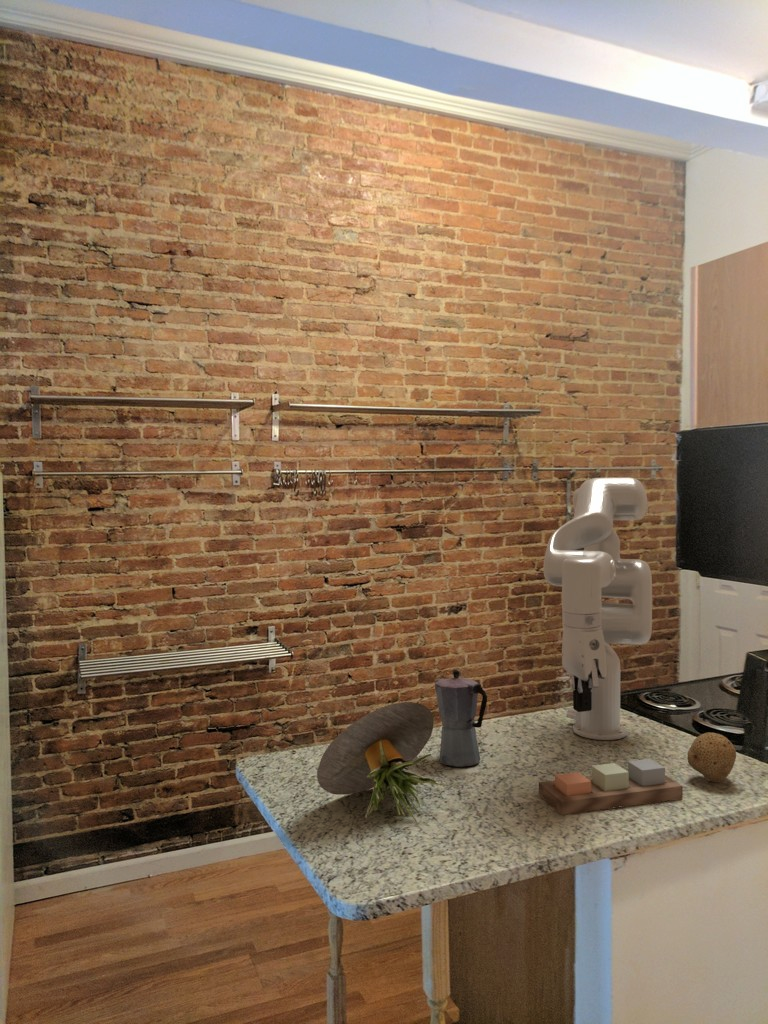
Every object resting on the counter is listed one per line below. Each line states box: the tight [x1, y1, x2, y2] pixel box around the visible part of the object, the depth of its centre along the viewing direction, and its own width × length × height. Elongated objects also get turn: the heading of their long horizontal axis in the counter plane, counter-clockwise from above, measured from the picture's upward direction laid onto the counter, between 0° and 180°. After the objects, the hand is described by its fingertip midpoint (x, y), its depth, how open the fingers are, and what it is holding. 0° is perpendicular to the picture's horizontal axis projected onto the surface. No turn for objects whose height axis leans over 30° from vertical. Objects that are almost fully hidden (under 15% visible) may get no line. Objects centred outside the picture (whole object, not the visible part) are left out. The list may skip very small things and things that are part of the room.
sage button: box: [591, 762, 629, 791], centre depth 153 cm, size 5×5×4 cm
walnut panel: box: [538, 775, 684, 816], centre depth 153 cm, size 26×10×2 cm, turn 105°
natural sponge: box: [686, 731, 737, 784], centre depth 160 cm, size 9×9×10 cm
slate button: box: [627, 758, 666, 786], centre depth 155 cm, size 5×5×4 cm
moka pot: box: [434, 669, 488, 767], centre depth 172 cm, size 10×15×20 cm, turn 44°
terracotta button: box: [554, 771, 591, 796], centre depth 151 cm, size 5×5×4 cm
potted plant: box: [316, 701, 448, 823], centre depth 147 cm, size 25×18×25 cm
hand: (582, 709), depth 157 cm, fingers closed
